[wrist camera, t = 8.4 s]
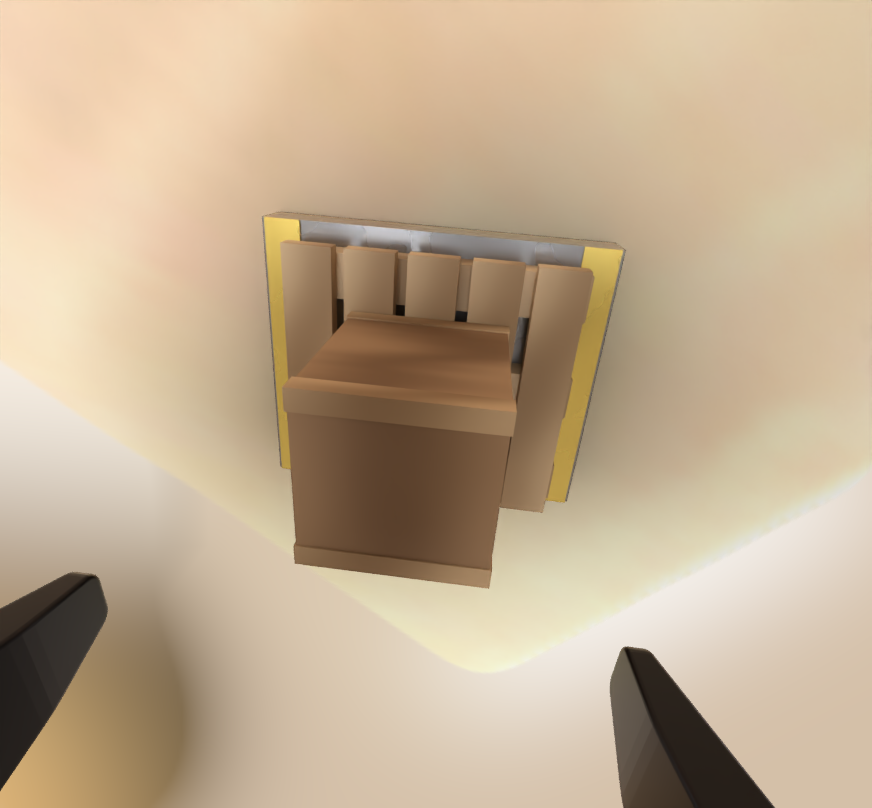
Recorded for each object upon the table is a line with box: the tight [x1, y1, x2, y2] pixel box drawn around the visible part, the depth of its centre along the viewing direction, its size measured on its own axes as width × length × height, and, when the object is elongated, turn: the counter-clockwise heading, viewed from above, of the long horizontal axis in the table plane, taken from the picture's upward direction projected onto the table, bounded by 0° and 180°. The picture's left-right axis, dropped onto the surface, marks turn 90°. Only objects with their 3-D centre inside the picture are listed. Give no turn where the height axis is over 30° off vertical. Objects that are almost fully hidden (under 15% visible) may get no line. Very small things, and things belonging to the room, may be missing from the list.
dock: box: [262, 212, 626, 502], centre depth 19 cm, size 12×10×2 cm
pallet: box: [280, 240, 595, 513], centre depth 18 cm, size 10×9×2 cm
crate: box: [282, 311, 517, 588], centre depth 15 cm, size 5×5×6 cm
